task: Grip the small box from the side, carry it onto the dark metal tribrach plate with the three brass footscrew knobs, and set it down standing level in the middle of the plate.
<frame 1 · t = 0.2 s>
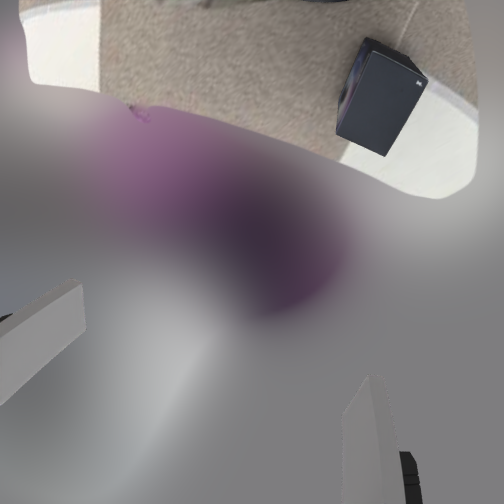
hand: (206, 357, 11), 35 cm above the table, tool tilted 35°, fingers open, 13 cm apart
small box: (372, 78, 29), on the table
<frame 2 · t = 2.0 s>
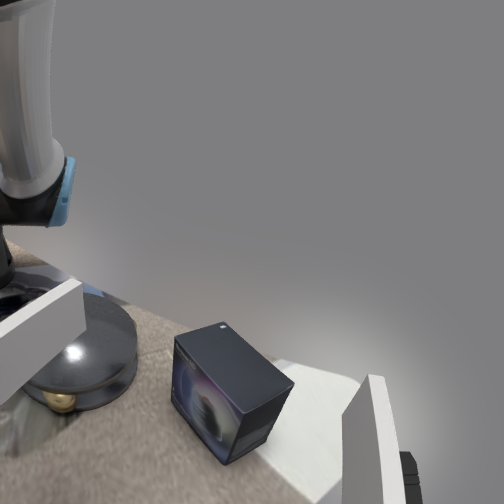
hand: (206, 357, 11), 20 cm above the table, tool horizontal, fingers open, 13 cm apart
tribrach plate: (72, 356, 30), on the table
small box: (215, 423, 28), on the table
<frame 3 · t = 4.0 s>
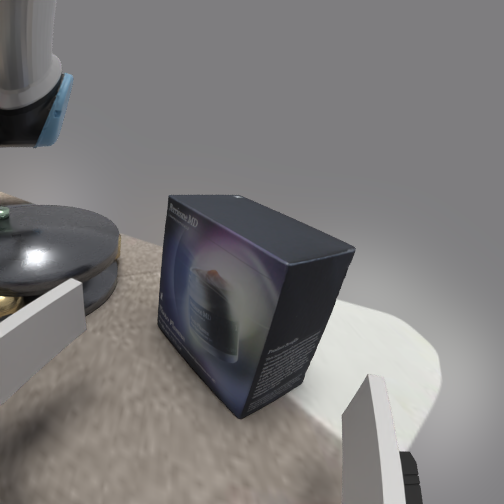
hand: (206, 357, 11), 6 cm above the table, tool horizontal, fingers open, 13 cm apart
tribrach plate: (34, 274, 22), on the table
small box: (223, 357, 20), on the table
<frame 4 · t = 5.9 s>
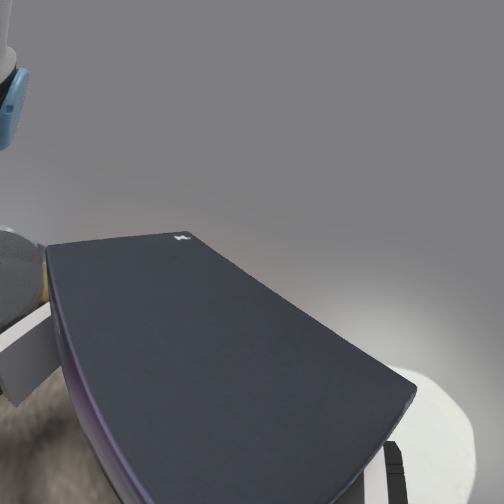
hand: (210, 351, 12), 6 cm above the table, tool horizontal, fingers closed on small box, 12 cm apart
small box: (173, 479, 10), on the table, touching gripper
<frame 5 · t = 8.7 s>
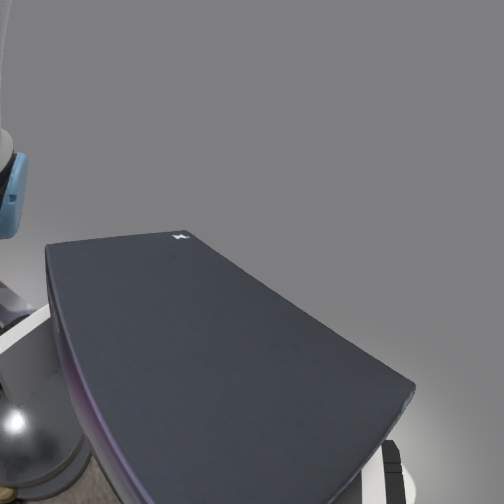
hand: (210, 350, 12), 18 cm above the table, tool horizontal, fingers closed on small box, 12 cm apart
tribrach plate: (15, 422, 17), on the table
small box: (172, 478, 10), point 12 cm above the table, touching gripper
when the fingers open (12 cm above the table, at t = 11.5 s): small box stays where it is, resting on tribrach plate.
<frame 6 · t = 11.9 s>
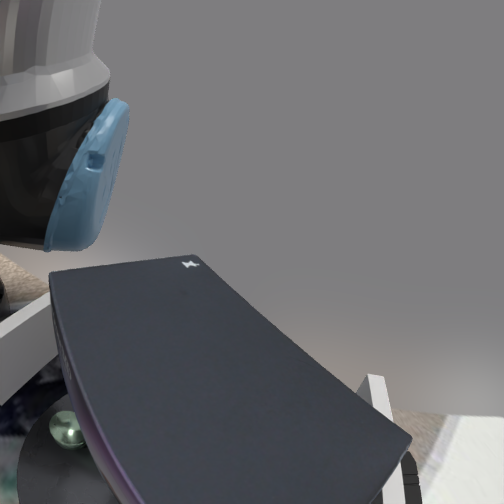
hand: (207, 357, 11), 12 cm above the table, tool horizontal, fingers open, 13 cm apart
small box: (172, 487, 11), point 5 cm above the table, touching gripper, tribrach plate
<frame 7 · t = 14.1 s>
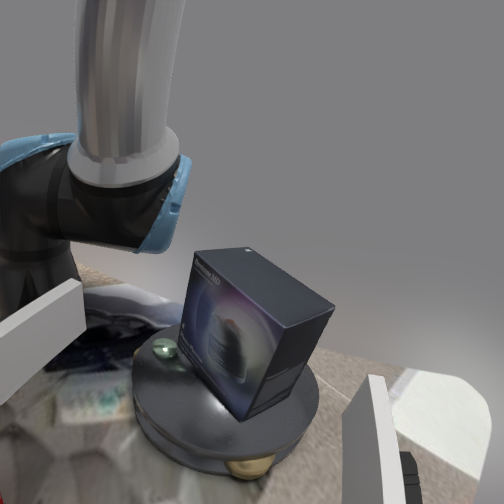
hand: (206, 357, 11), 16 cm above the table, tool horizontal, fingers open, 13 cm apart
tribrach plate: (221, 402, 27), on the table
small box: (229, 374, 26), point 5 cm above the table, touching tribrach plate
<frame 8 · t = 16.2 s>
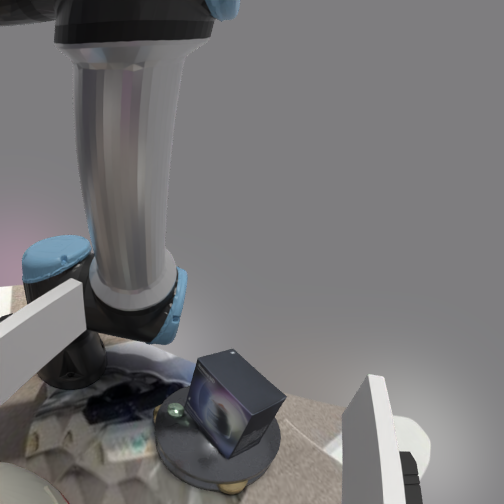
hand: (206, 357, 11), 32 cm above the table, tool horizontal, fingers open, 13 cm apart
tribrach plate: (215, 442, 37), on the table
small box: (219, 428, 35), point 5 cm above the table, touching tribrach plate
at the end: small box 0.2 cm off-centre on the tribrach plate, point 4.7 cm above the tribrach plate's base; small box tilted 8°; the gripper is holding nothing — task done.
